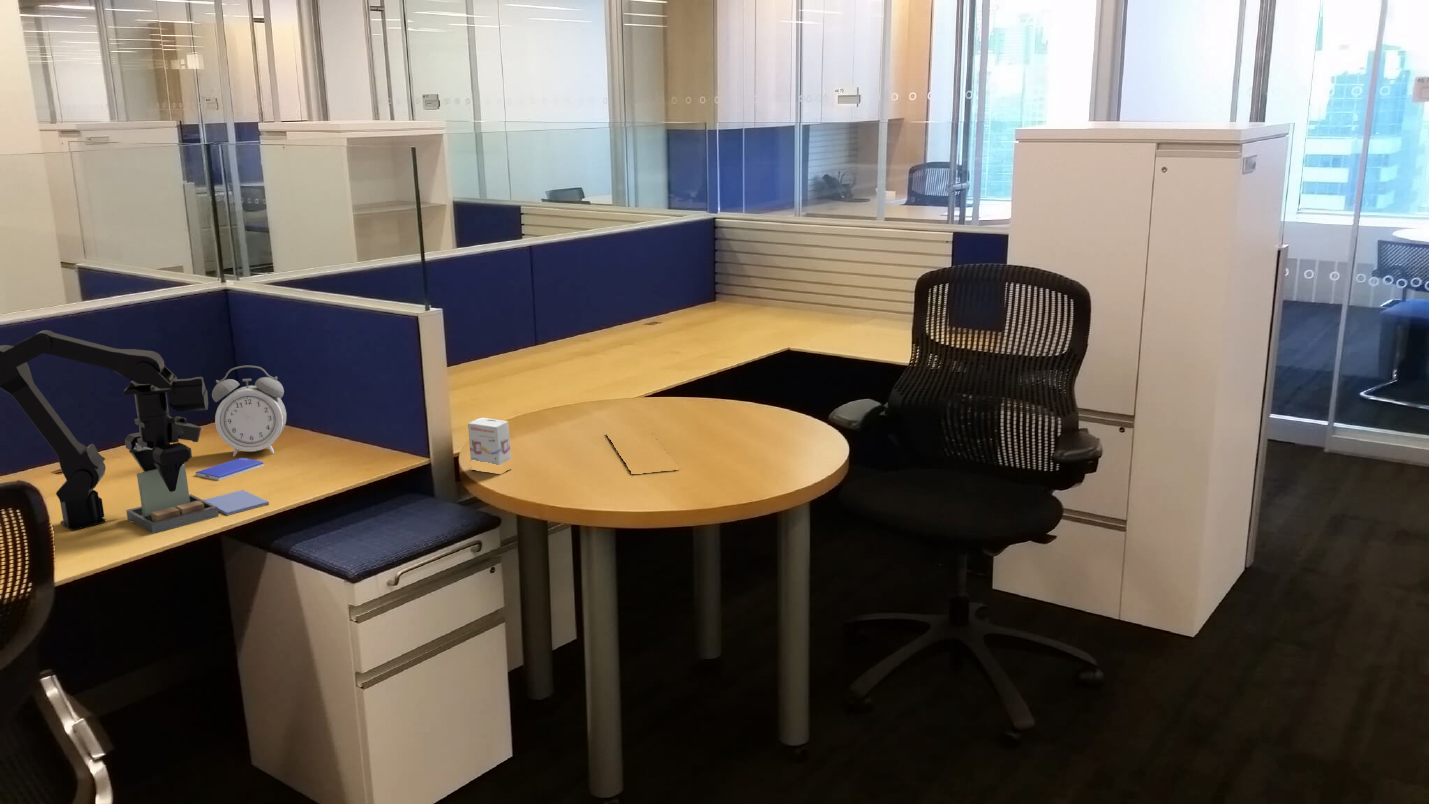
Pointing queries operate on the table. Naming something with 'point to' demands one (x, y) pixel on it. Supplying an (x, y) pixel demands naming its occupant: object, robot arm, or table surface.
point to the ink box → (489, 440)
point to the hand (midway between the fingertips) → (163, 486)
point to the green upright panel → (161, 491)
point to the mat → (236, 502)
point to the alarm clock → (250, 412)
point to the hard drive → (230, 468)
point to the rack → (173, 522)
